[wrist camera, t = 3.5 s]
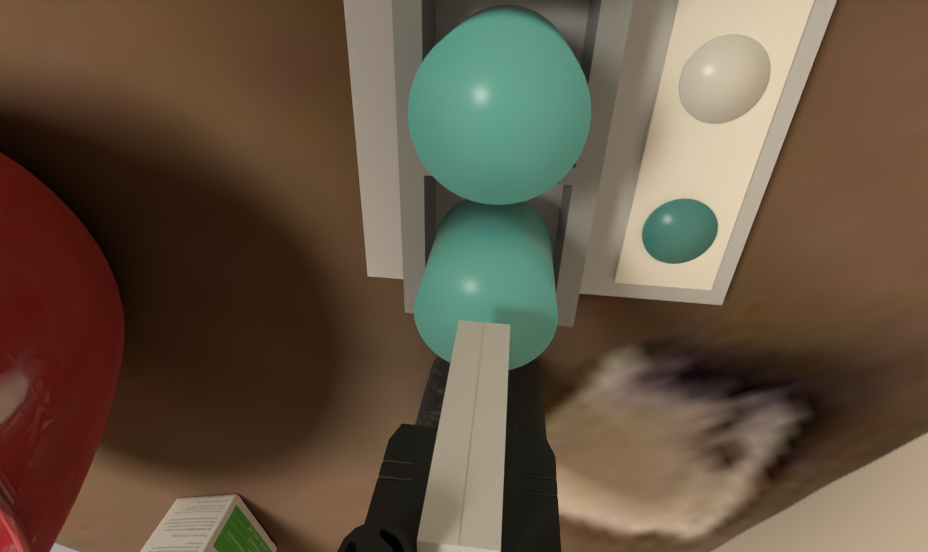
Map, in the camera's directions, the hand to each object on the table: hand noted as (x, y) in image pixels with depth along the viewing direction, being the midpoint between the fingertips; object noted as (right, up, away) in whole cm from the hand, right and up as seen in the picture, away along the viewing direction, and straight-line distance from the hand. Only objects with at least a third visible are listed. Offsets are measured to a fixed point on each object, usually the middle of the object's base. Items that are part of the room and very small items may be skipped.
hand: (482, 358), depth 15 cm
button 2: (+1, +9, +2) cm, 10 cm away
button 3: (+1, +4, +6) cm, 7 cm away
